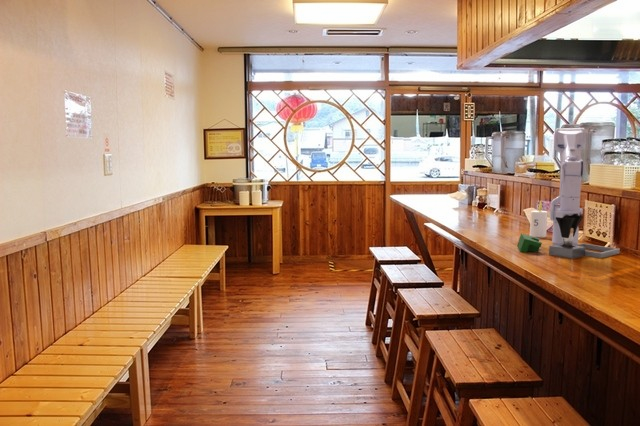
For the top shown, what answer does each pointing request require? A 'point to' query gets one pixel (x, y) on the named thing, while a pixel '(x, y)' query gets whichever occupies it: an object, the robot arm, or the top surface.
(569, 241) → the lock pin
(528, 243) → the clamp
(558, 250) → the block
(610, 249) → the tray
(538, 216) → the candle
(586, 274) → the top surface
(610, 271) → the top surface
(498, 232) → the top surface
